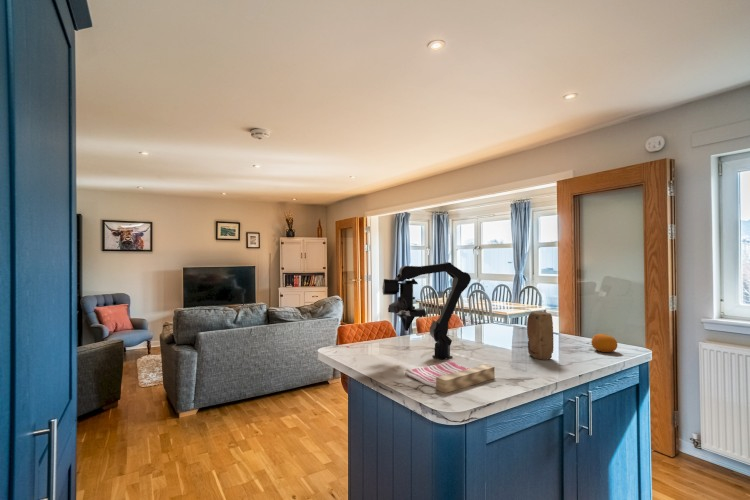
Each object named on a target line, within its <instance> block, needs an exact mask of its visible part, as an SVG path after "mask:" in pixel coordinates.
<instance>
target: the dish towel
mask: <svg viewBox="0 0 750 500" xmlns="http://www.w3.org/2000/svg"><path fill="white" fill-rule="evenodd" d="M470 368H471V367H470ZM470 368H469V367H465V366H462V365H461V366H460V365H459V364H456V363H455V362H453V361H451V360H448V361H444V362H441V363H438V364H433V365H428V366H423V367H415V368H413V369H406V371H405V372H404V374H405V376H407V377H409V378H411V379H413V380H415V379H416V380H415V381H417V380H418V382H420V383H422V384H423V385H426V386H429V387H432V388H435V389H436V377H440V376H443V375H447V374H451V373H455V372H459V371H462V370H466V369H470Z"/></svg>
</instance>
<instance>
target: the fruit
mask: <svg viewBox="0 0 750 500" xmlns="http://www.w3.org/2000/svg"><path fill="white" fill-rule="evenodd" d="M591 346H592V348H594V350H596V351H597V350H598V352H600V351H601V353H613V352H615V351H616V350H617V348H618V341H617V340H616V338H614V337H613V336H611V335H608V334H607V333H606V334H605V333H597V334H595V335H593V337H592V339H591Z"/></svg>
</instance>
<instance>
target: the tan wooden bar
mask: <svg viewBox="0 0 750 500" xmlns="http://www.w3.org/2000/svg"><path fill="white" fill-rule="evenodd" d="M495 373H496V371H495V366H493V365H488V364H482V365H478V366H473V367H470V369H466V370H462V371H459V372H455V373H451V374H447V375H443V376H440V377H436V388H435V389H436V391H439V392H441V393H444V394H447V393H450V392H453V391H456V390H459V389H462V388H466V387H470V386H473V385H476V384H479V383H483V382H486V381H489V380H492V379H495V377H496V376H495Z"/></svg>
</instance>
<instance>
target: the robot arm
mask: <svg viewBox="0 0 750 500" xmlns="http://www.w3.org/2000/svg"><path fill="white" fill-rule="evenodd" d="M442 272H445V273H447V275H449V277H450V278H452V280H451V281H452V282H451V290H450V292H449V294H448V297H447V299H446V302H445V304H444V306H443V308H442V310H441V312H440V315H439V317H438V319H437V320H432V322H431V325H430V327H429V329H430V330H429V334H430V336H431V338H432V339H433V340H434V342H435V343H434V354H433V355H432V356H431V357H432V358H435V359H439V360H448V359H452V358H453V355H451V344H452V342H453V340H452V339H451V338H450V336H448V331H449V322H450V320H451V318H452V315H453V313H454V310H455V308H456V306H457V304H458V302H459V299H460V297H461V295H462V293H463V292H464V291H465V290H466V289H467V287H468V286H469V285H470V283H471V281H472V278H471V276H470V274H469V273H468V272H465V271H462V270H461V269H460V268H458V267H456V266H455V265H454V264H452V263H451V262H446V261H445V262H442V263H435V264H427V265H420V266H418V265H417V266H416V265H403V266H401V267H399V270H398V274H397V275H396V277H395V278H393V279H388V278H384V279H383V282H382V286H381V288H382V294H383V296H387V295H388V296H390V295H392V296H394V295H395V296H396V295H397V294H398V293H399V296H397V300H395V301H394V302H392V303H390V304H389V305H388V308H387V312H388V313H391V314H392V313H394V314H396V316H397V317H399V318H400V320H401V323H402V325H403V328H404V331H405V332H407V331H409V329H410V327H411V325H412V323H413V321H414V319H415V318H419V317H426V316H427V311H426V309H425V308H416V306H414V300H416V297H415V296H414V285H418V281H416V279H415V278H417V277H419V276H422V275H428V274H438V273H442Z"/></svg>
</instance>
